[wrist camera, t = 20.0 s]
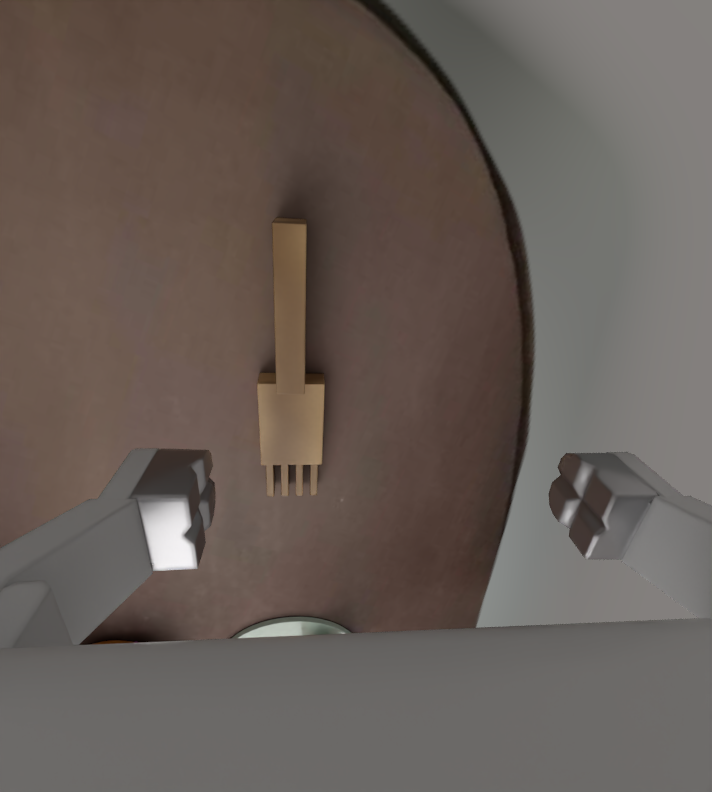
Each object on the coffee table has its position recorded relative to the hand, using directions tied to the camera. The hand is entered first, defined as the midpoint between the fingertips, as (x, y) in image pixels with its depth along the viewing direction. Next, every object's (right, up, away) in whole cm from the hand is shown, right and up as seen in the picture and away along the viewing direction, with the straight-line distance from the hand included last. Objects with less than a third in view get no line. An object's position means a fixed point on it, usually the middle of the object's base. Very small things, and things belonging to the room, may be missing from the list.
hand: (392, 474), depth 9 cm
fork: (-5, +3, +16) cm, 17 cm away
